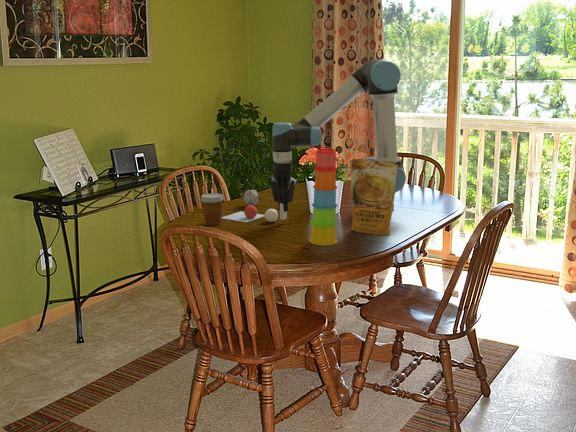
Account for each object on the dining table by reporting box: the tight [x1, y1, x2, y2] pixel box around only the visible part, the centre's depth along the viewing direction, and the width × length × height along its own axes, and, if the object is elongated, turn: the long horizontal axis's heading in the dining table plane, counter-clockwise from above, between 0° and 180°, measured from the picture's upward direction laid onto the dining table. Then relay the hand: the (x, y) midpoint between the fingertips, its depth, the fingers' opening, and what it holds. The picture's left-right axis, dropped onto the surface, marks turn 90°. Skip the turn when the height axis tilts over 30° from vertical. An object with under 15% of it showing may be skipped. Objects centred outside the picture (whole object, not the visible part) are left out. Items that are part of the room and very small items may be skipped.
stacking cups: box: [309, 147, 338, 247], centre depth 258 cm, size 10×10×35 cm
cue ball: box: [264, 208, 279, 223], centre depth 292 cm, size 6×6×6 cm
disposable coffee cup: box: [200, 192, 225, 227], centre depth 290 cm, size 10×10×12 cm
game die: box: [241, 188, 262, 208], centre depth 321 cm, size 9×8×10 cm
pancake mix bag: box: [349, 158, 398, 237], centre depth 271 cm, size 7×19×28 cm, turn 58°
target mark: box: [221, 210, 265, 223], centre depth 302 cm, size 14×14×1 cm
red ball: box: [243, 205, 258, 218], centre depth 299 cm, size 6×6×6 cm
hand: (283, 218), depth 290 cm, fingers closed
